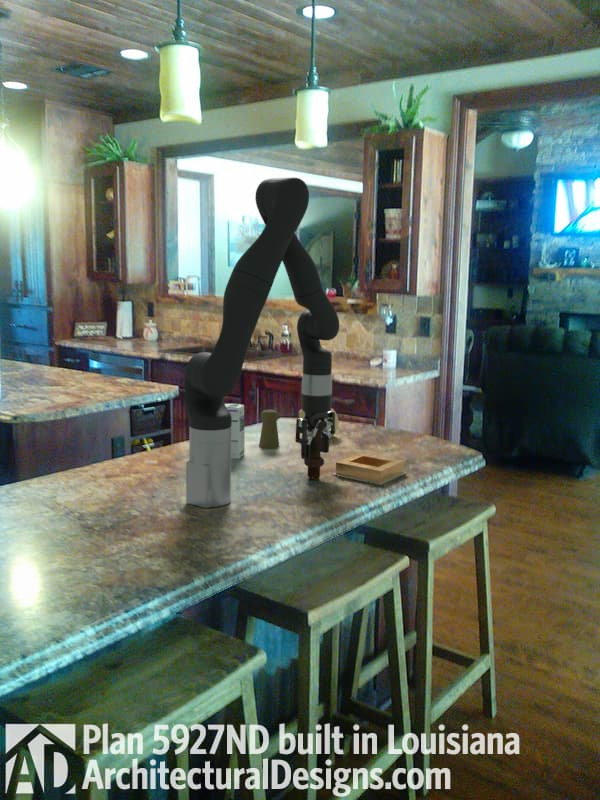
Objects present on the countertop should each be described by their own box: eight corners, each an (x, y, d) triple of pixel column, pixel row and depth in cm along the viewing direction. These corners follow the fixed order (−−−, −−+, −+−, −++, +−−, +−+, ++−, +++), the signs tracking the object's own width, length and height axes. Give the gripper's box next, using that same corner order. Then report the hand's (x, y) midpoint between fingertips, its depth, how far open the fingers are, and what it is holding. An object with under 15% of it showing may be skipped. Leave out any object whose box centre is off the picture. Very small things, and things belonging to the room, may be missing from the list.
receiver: (381, 485, 178) (381, 471, 177) (332, 475, 185) (333, 462, 185) (406, 473, 189) (407, 460, 189) (360, 464, 197) (360, 452, 196)
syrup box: (239, 459, 198) (240, 407, 196) (218, 458, 199) (219, 406, 197) (244, 454, 204) (245, 404, 201) (224, 453, 205) (224, 402, 202)
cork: (255, 445, 215) (256, 408, 214) (274, 443, 218) (275, 407, 216) (263, 449, 210) (264, 412, 208) (282, 448, 213) (283, 411, 211)
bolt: (325, 476, 184) (327, 419, 181) (324, 482, 179) (326, 423, 176) (303, 475, 184) (304, 417, 182) (301, 480, 180) (302, 421, 177)
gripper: (313, 397, 170) (311, 464, 173) (344, 389, 182) (342, 452, 184) (287, 393, 174) (286, 458, 177) (319, 386, 186) (318, 447, 189)
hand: (315, 455), depth 181 cm, fingers open, 8 cm apart
